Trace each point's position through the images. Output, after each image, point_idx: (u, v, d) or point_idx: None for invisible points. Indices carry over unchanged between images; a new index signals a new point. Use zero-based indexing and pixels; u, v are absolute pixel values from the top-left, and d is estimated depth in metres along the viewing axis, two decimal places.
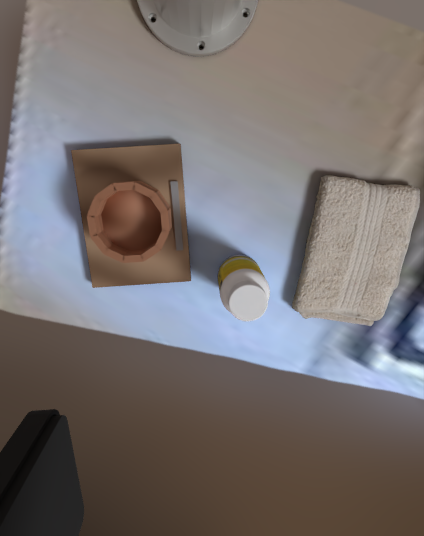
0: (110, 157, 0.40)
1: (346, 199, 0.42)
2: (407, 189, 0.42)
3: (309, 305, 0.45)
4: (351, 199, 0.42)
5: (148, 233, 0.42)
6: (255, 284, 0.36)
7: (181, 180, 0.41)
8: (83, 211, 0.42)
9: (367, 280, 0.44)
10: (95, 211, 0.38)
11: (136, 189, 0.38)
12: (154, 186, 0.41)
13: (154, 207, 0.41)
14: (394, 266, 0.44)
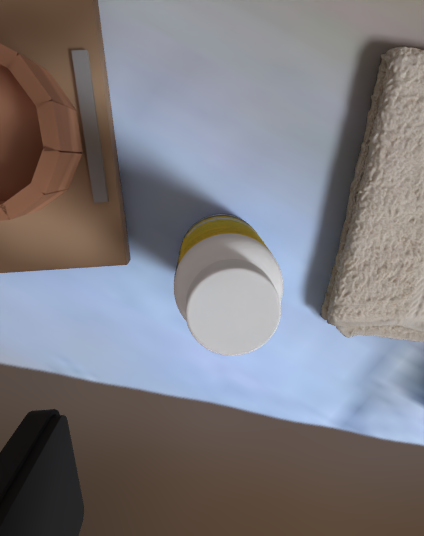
0: None
1: None
2: None
3: (356, 313, 0.24)
4: None
5: (31, 164, 0.20)
6: (251, 267, 0.15)
7: (96, 50, 0.20)
8: None
9: None
10: None
11: None
12: (39, 63, 0.20)
13: None
14: None
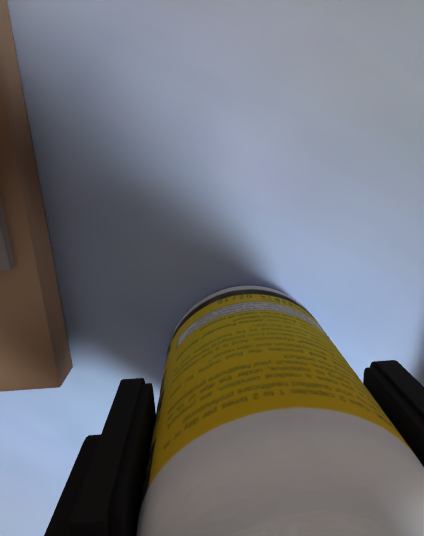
0: None
1: None
2: None
3: None
4: None
5: None
6: None
7: None
8: None
9: None
10: None
11: None
12: None
13: None
14: None
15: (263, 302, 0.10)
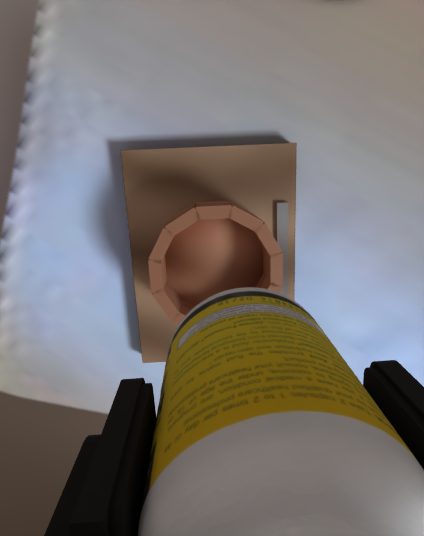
0: (183, 163, 0.25)
1: None
2: None
3: None
4: None
5: (237, 284, 0.26)
6: None
7: (293, 201, 0.26)
8: (135, 247, 0.26)
9: None
10: (163, 253, 0.23)
11: (234, 217, 0.23)
12: (250, 210, 0.26)
13: (250, 243, 0.26)
14: None
15: (263, 304, 0.10)
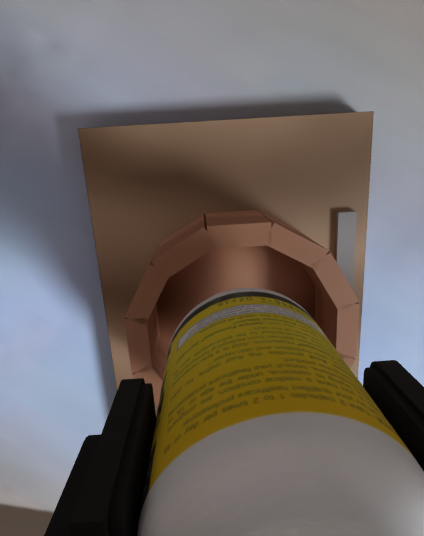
0: (183, 148, 0.15)
1: None
2: None
3: None
4: None
5: None
6: None
7: (364, 209, 0.16)
8: (108, 286, 0.16)
9: None
10: (150, 306, 0.13)
11: (275, 244, 0.13)
12: (293, 224, 0.16)
13: (294, 279, 0.16)
14: None
15: (263, 304, 0.10)
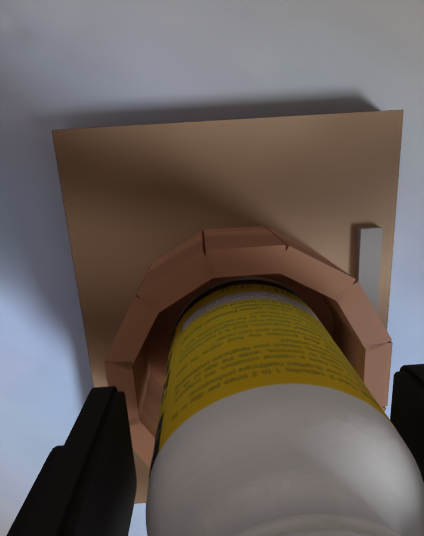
0: (178, 154, 0.13)
1: None
2: None
3: None
4: None
5: None
6: None
7: (390, 224, 0.13)
8: (90, 315, 0.14)
9: None
10: (135, 347, 0.11)
11: (291, 272, 0.10)
12: (307, 242, 0.14)
13: None
14: None
15: (262, 291, 0.11)
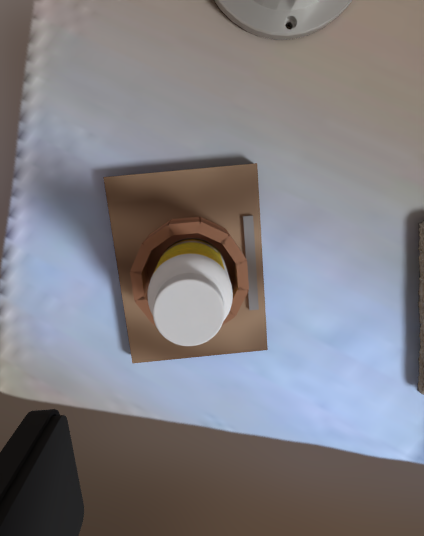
0: (158, 185, 0.28)
1: None
2: None
3: None
4: None
5: None
6: (201, 278, 0.20)
7: (257, 214, 0.29)
8: (120, 261, 0.30)
9: None
10: (142, 265, 0.26)
11: (202, 232, 0.26)
12: (220, 223, 0.29)
13: (221, 253, 0.29)
14: None
15: (194, 240, 0.27)
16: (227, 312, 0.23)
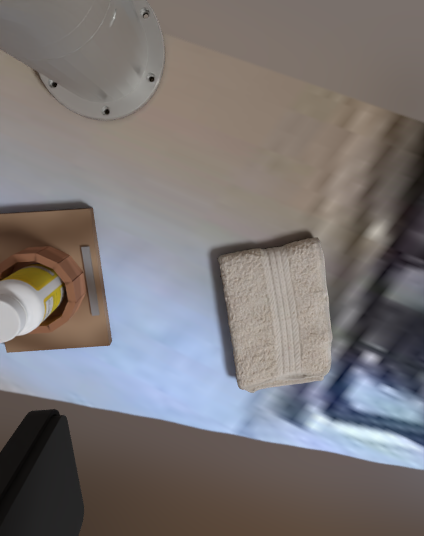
0: (17, 223, 0.39)
1: (246, 275, 0.40)
2: (306, 244, 0.40)
3: (250, 380, 0.44)
4: (252, 273, 0.40)
5: None
6: (4, 299, 0.30)
7: (93, 245, 0.40)
8: None
9: (299, 341, 0.43)
10: None
11: (38, 260, 0.36)
12: (65, 251, 0.40)
13: None
14: (322, 321, 0.42)
15: (36, 265, 0.37)
16: (37, 320, 0.33)
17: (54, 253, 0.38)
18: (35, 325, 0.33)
